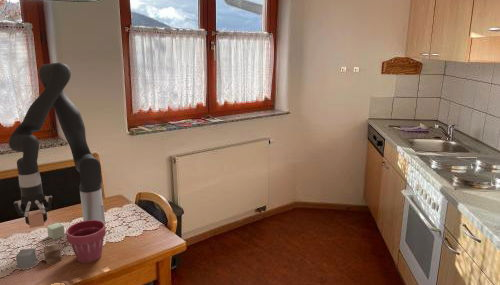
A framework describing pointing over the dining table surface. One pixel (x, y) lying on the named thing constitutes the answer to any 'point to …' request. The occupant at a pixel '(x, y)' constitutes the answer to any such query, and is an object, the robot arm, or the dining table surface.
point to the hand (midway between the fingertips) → (37, 222)
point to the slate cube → (26, 258)
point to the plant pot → (86, 239)
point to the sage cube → (56, 231)
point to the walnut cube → (52, 254)
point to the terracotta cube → (35, 218)
